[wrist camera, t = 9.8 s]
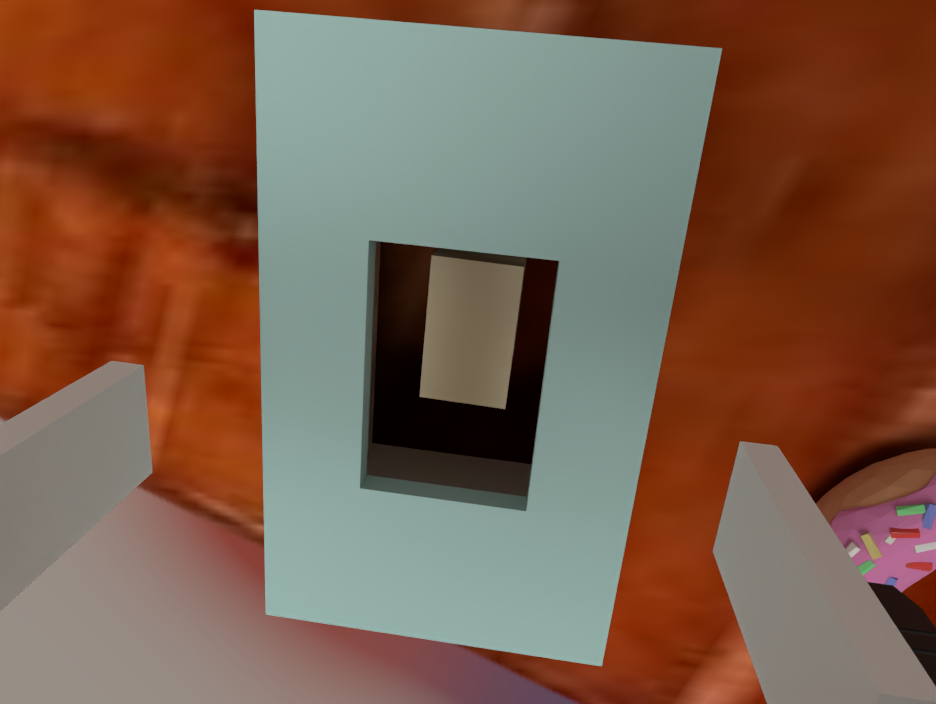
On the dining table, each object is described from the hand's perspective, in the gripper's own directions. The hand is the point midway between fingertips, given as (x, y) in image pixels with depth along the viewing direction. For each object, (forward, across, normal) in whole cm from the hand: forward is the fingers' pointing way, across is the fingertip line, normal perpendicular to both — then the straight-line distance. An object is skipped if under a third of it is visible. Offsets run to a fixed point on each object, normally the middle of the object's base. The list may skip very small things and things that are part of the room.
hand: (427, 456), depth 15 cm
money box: (+15, 0, 0) cm, 15 cm away
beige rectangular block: (+15, 0, 0) cm, 15 cm away
